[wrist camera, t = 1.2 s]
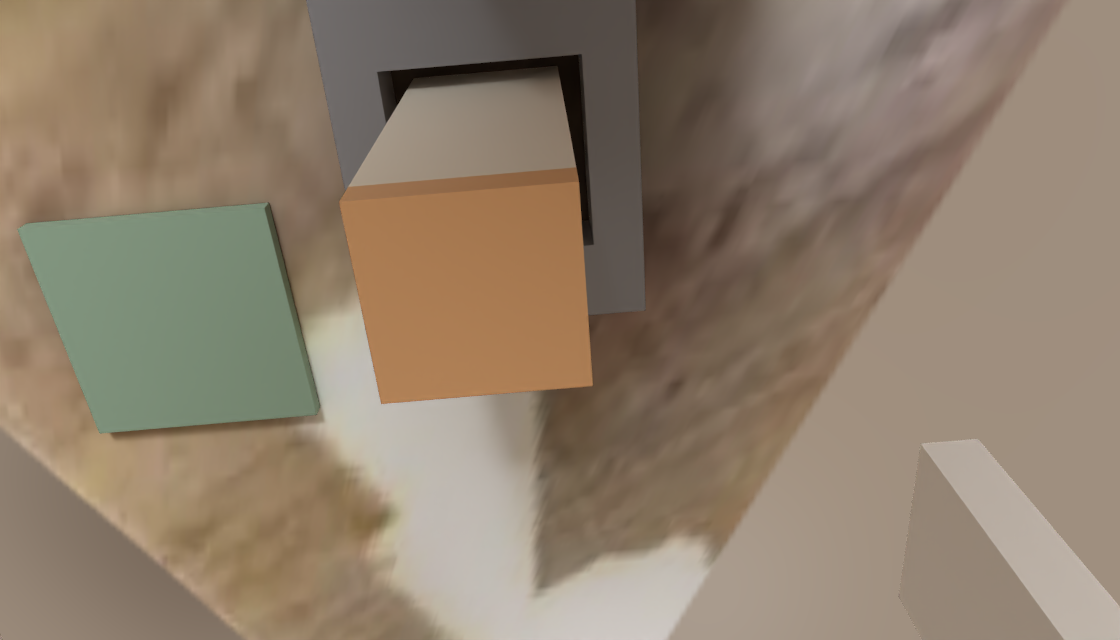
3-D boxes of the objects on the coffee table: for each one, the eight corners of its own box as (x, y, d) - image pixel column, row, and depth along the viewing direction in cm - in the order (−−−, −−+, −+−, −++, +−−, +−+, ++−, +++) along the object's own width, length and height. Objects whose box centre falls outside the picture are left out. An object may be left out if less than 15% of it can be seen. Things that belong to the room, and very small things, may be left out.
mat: (26, 223, 31) (17, 229, 30) (268, 202, 31) (264, 208, 30) (106, 424, 35) (99, 433, 34) (319, 406, 35) (316, 415, 34)
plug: (413, 77, 29) (339, 202, 17) (557, 65, 29) (578, 181, 17) (434, 214, 31) (381, 404, 19) (567, 202, 31) (593, 385, 19)
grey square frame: (320, -25, 27) (302, -17, 25) (625, -51, 27) (634, -46, 25) (384, 303, 33) (374, 333, 30) (637, 282, 33) (645, 310, 30)
